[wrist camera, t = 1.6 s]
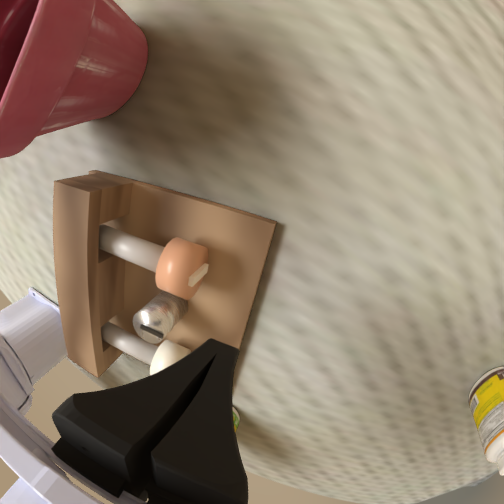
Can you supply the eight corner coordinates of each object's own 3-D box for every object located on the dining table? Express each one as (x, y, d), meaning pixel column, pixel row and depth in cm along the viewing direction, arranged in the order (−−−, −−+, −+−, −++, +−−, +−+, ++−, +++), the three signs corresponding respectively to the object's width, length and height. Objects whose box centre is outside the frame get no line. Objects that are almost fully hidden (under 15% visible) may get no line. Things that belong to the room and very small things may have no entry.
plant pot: (215, 22, 15) (99, -69, 4) (121, 178, 21) (-20, 214, 9) (106, -10, 16) (8, -46, 4) (42, 110, 21) (-61, 118, 9)
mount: (93, 327, 28) (61, 352, 23) (95, 170, 22) (46, 178, 16) (226, 391, 25) (206, 433, 20) (277, 221, 19) (257, 246, 14)
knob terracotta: (113, 250, 22) (84, 265, 19) (116, 208, 21) (85, 218, 17) (206, 287, 21) (184, 311, 17) (216, 241, 19) (193, 259, 16)
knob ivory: (113, 333, 25) (91, 352, 22) (112, 303, 24) (88, 322, 21) (191, 371, 24) (174, 397, 21) (196, 342, 23) (177, 369, 19)
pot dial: (158, 309, 23) (131, 335, 19) (161, 283, 22) (131, 307, 18) (186, 321, 23) (161, 350, 19) (190, 294, 22) (163, 322, 18)
